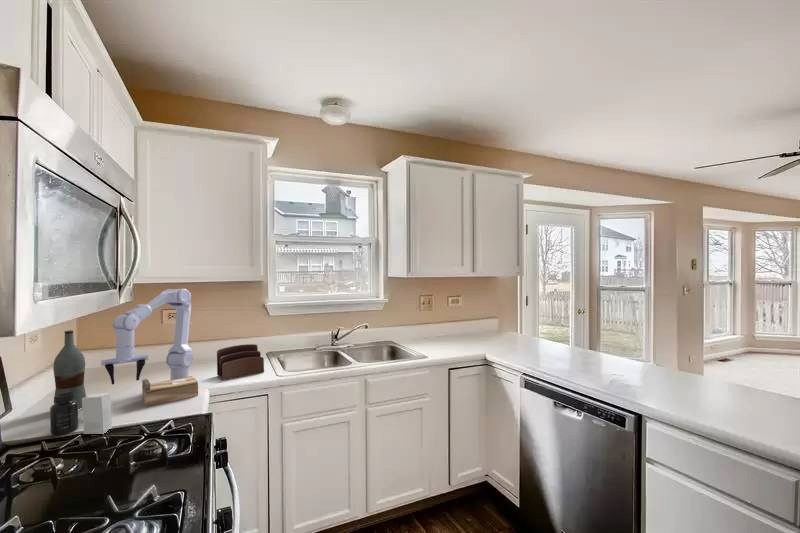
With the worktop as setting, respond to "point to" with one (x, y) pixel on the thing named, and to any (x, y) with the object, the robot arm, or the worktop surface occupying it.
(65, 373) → the vodka
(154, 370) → the worktop surface
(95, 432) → the skincare box
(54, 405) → the supplement bottle
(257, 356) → the letter holder
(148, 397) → the box
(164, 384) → the mailer lid
